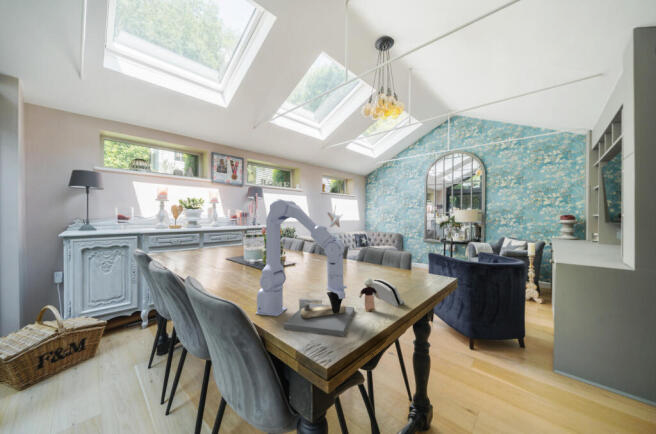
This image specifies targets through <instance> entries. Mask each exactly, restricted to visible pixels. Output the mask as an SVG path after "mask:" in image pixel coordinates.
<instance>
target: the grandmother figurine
mask: <svg viewBox="0 0 656 434" xmlns="http://www.w3.org/2000/svg"><path fill="white" fill-rule="evenodd" d="M373 281H374V280H373V279H372V278H371V277H367V278H365V279H364V280H363V283H364V284H363V285H365V287H364V288H362V289H361V290H360V293H359V295H358V297H359V298H360V299H361V298H362V296H364V308H363V309H364V311H365V312H367V313H369V312H370V311H371V312H376V307H375V296H373V293H375V295H376V298H377V297H379V295H378V293H377V291H376V290H375V289H374V288H373V287H371V285H372V283H373Z"/></svg>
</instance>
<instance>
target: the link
mask: <svg viewBox="0 0 656 434" xmlns="http://www.w3.org/2000/svg"><path fill="white" fill-rule="evenodd" d="M346 307H347V306H346V305H345V304H344V303H341V306H340V311H339V313H345V312H346ZM330 314H334V313H333V311H332V307H331V306H322V307H314V308H310V305H309V304H305V305H304V308H303V309H301V317H302V318H311V317H314V316H322V315H330ZM335 314H337V313H335Z"/></svg>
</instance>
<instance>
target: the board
mask: <svg viewBox="0 0 656 434" xmlns="http://www.w3.org/2000/svg"><path fill="white" fill-rule="evenodd" d="M306 304H309V305H310V308H314V307H322V306H331V304H323V303H321V304H313V303H306ZM354 312H355V307H354V306H346V312H345V313H337V314H330V315H322V316H314V317H311V318H302V317H301V311H300V310H299V309H298V310H297V311H296V312H294V314H293V315H292V316H291V317H289V319H288V320H286V321H285V323H283V329H285V330H292V331H299V332H301V331H302V332H308V333H309V332H310V333H315V334H316V333H317V334H323V335H325V334H326V335H334V336H341V337H344V335H345V333H346V331H347V328H348V326H349V324H350V321H351V319H352V317H353V315H354Z"/></svg>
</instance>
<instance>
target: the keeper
mask: <svg viewBox="0 0 656 434" xmlns="http://www.w3.org/2000/svg"><path fill="white" fill-rule="evenodd" d="M298 302H299V303H298V305H299V308H298V310H300V311H301V309H303V308H304V305H305V304H306V303H311V304H323V299H321V298H307V297H300V298H299V301H298Z"/></svg>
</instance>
